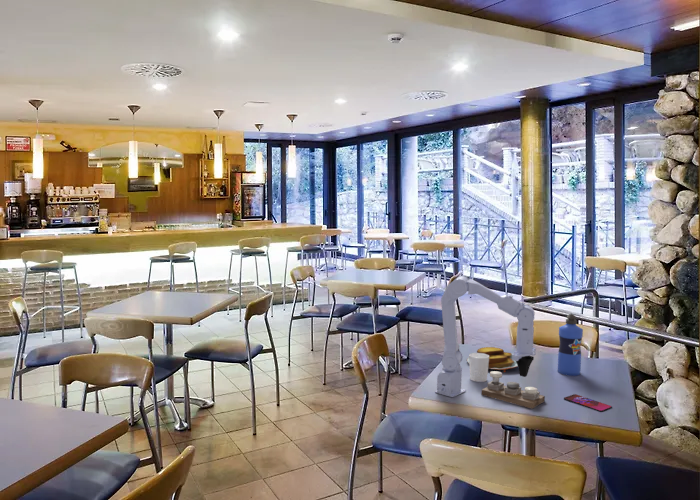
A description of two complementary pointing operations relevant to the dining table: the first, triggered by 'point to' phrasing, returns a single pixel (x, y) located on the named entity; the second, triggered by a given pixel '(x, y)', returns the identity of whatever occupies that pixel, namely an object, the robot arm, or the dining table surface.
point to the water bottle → (570, 347)
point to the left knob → (496, 375)
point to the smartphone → (587, 402)
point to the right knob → (531, 390)
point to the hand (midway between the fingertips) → (523, 375)
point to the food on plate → (498, 358)
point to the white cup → (478, 366)
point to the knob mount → (512, 394)
